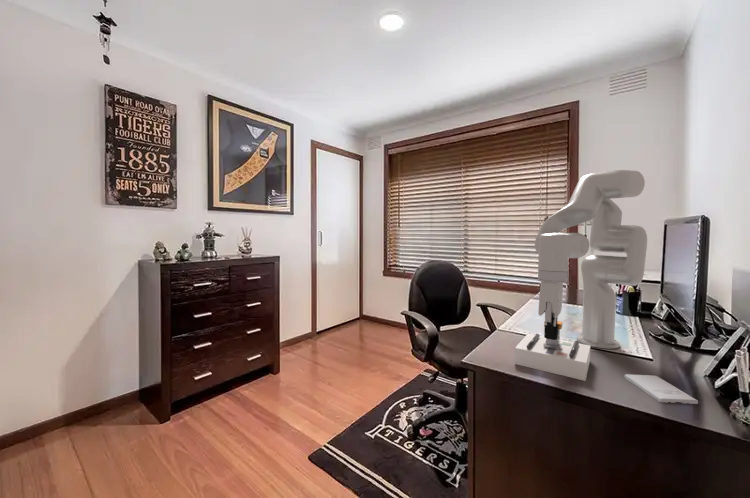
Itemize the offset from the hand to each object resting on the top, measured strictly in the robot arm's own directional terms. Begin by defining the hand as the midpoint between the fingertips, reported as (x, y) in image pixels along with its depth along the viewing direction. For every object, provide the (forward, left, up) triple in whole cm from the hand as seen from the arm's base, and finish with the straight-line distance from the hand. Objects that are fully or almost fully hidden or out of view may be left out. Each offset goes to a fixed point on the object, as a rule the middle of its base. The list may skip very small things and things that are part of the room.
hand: (550, 338), depth 92 cm
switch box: (-5, 0, -9) cm, 10 cm away
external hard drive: (-2, +24, -10) cm, 26 cm away
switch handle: (-4, 0, -4) cm, 6 cm away
